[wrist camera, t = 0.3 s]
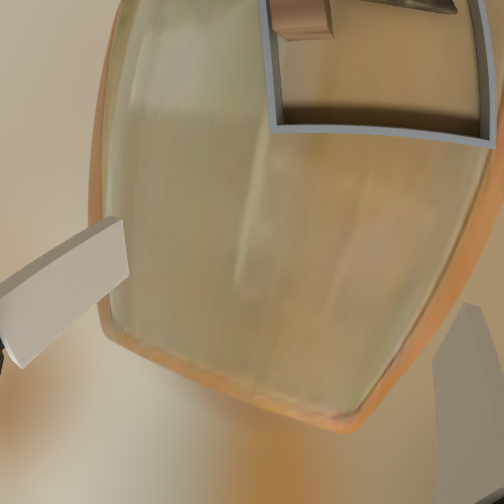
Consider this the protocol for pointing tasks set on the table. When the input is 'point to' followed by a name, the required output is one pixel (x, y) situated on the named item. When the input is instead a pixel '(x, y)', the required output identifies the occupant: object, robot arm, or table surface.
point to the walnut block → (302, 19)
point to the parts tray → (485, 139)
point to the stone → (423, 5)
